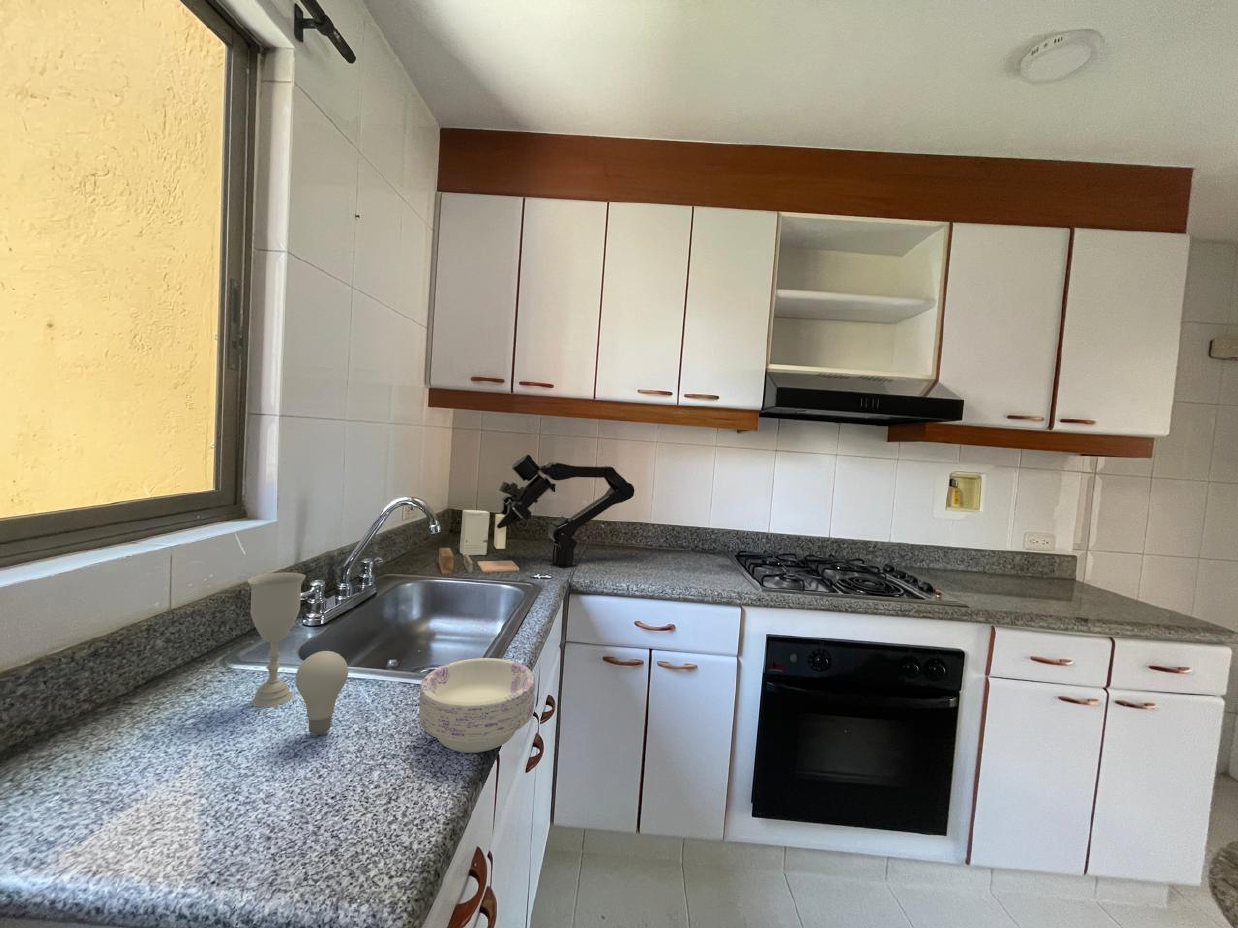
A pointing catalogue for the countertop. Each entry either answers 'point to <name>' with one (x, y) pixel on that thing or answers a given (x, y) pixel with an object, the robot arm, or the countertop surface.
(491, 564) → the terracotta pad
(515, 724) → the paper bowls
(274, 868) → the countertop surface
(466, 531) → the skincare box
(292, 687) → the countertop surface
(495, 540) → the cream rectangular block
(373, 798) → the countertop surface
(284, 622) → the chalice
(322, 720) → the lightbulb
